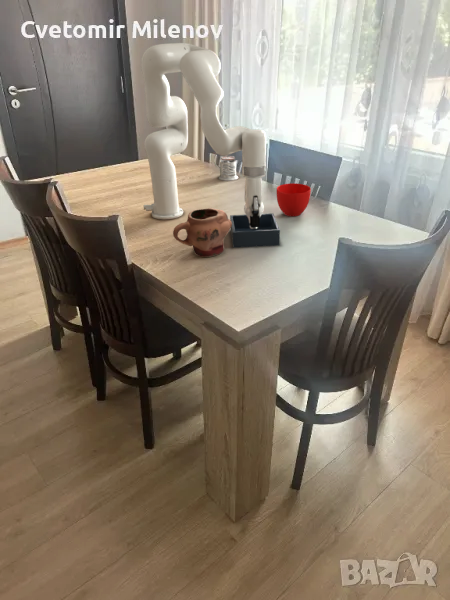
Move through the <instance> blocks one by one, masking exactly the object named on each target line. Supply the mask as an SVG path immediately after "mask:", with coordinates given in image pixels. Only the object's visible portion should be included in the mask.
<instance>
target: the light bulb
mask: <svg viewBox="0 0 450 600" xmlns="http://www.w3.org/2000/svg"><path fill="white" fill-rule="evenodd" d="M252 207H254V205H252ZM264 209H265V206H264V203H263V202H262V203H261V207H260V208H259V215H260V216H261V215H262V214H264ZM253 210H254V209H253ZM243 211H244V213H245V214H244V215H247V217H248V219H249V223H250V216H251V207H249V208H247V207H246V203H244V207H243ZM257 228H258V227H250V229H252V230H255V229H257Z"/></svg>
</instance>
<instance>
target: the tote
mask: <svg viewBox="0 0 450 600" xmlns="http://www.w3.org/2000/svg"><path fill="white" fill-rule="evenodd" d="M229 220H231V222H232V226H231V228H230V237H231V242H232V248H233V249H236V248H237V249H239V248H240V249H241V248H258V247H279V246H280V244H281V243H280V241H281V229H280V226H279V223H278V221H277V219H276V216H275V214H274V212H269V213H262V215H261V216H260V226H259V227H258V228H257V229H255V230H252V229H250V223H249V219H248V217H247V215H246V214H231V215H230V216H229Z"/></svg>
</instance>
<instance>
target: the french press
mask: <svg viewBox="0 0 450 600" xmlns="http://www.w3.org/2000/svg"><path fill="white" fill-rule="evenodd" d="M229 126H230V125H229V123H225V124H224V127H225V128H229ZM216 155H218V154H217V153H216V152H215V154H214V156H213V163H214V166H217V168H218V169H219V176H218V179H219V180H221V181H235V180H237V179H239V176H238V175H237V160H236V157H235V156H234V155H226V156H222V155H221V157H220V160H219V165H217V163H216V160H215V158H216Z"/></svg>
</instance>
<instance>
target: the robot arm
mask: <svg viewBox="0 0 450 600" xmlns="http://www.w3.org/2000/svg"><path fill="white" fill-rule="evenodd" d="M221 64H222V63H221V61H220V58H219V56H218V54H216V52H214V50H211V49H210V48H205V47H202V46H199V45H195V44H192V43H186V42H175V43H174V42H173V43H159V44H153V45H151V46H149V47H148V48H147V49H145V51H144V52H143V54H142V56H141V61H140V65H141V66H140V67H141V74H142V78H143V84H144V97H145V112H146V114H145V115H146V119H147V122H148V125H149V126H151V127H152V128H155V129H160V128H165V127H167V128H165V129H160V130H157V131H153V132H151V133H149V134H148V135H147V136H146V137H145V139H144V144H143V145H144V146H143V147H144V151H145V154H146V157H147V161H148V165H149V172H150V178H151V186H152V195H153V196H152V197H153V203H151V204H143V210H145V212H151V216H152V218H153V219H158V220H173V219H177V218H179V217H181V216H183V215H184V210H183V208H182V207H180V206H179V205H180V204H179V193H178V182H177V172H176V166H175V165H174V162H173V161H172V159H171V157H172V156H175V155H178V154H180V153H184V151H185V150H186V149H187V147H188V142H189V125H188V123H189V121H188V120H189V118H188V109H187V106H186V104H185V101H184V100H183V99H182V98H181V97H179V96H177V95H171V94H170V93H171V88H170V83H169V81H168V78H167V76H166V74H173V73H180V72H181V74H182V77H183V78H184V80H185V82H186V83H187V86H188V87H189V89H190V91H191V92H192V94H193V96H194V98H195V99H196V101H197V103H198V105H199V107H200V126H201V130H202V133H203V135H204V137H205V139H206V140H207V143H208V144H209V146H210V147H211V149H212V150H213V151H214V152H215V154H216V153H217V155H219V156H221V157H222V156H227V155H228V156H230V155H232V154H235V153H238V152H241V156H242V157H241V164H242V165H241V170H242V171H241V176H242V177H243V178H244V204H246V207H247V208H249V207H251V216H250V227H259V226H260V215H259V208H260V207H261V203H263V201H262V199H263V178H264V177H266V169H267V168H266V165H267V161H266V160H267V154H266V153H267V134H266V132H265V131H264V130H262V129H256V128H255V129H254V128H249V127H246V126H243V125H236V126H232V127H227V128H226V129H224V127H223V126H222V124H221V122H220V120H219V117H218V113H217V108H218V105H219V103H221V101H222V100H223V98H224V96H225V95H224V90H223V88H222V86H221V85H220V83H219V82H218V80H217V78H216V77H217V76H218V75H219V74H220V73H221V72H220V71H221V68H222V67H221ZM252 205H254V207H252ZM253 209H254V210H253Z"/></svg>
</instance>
